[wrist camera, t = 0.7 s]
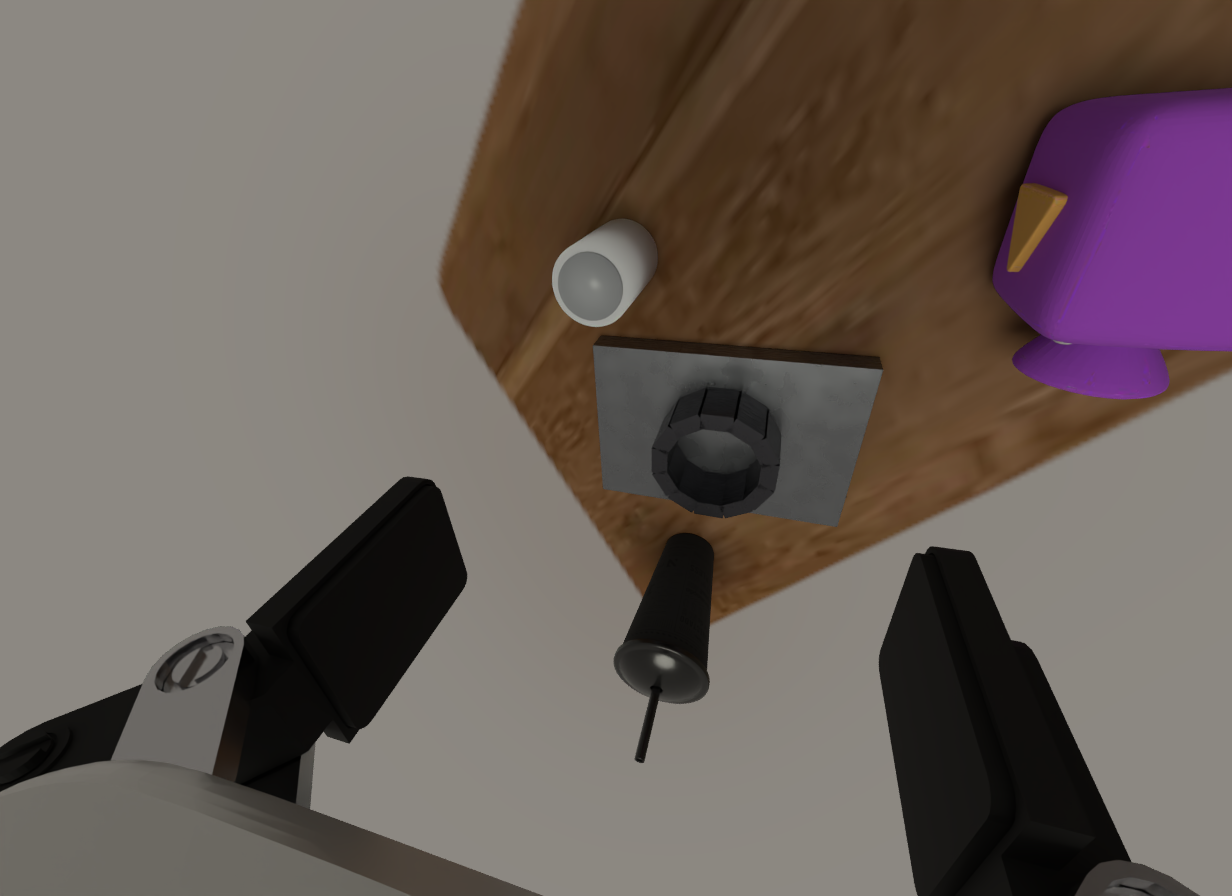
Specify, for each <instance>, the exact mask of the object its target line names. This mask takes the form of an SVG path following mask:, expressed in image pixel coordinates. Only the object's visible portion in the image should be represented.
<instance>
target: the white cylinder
mask: <svg viewBox="0 0 1232 896" xmlns="http://www.w3.org/2000/svg"><path fill="white" fill-rule="evenodd" d="M657 263H658V252H657V247H656V244H655V242H654V239H653V238H652V236H651V234H650V233H649V232H648V231H647V230H646V229H645V228H644V227H643V226H642V225H641V224H639V223H637V222H635V221H633V220H629V219H615V220H611V221H609V222H607V223H605V224H604V225H602V226H601V227H599V228H598V229H596V230H594V231H593V232H591V233H590V234H588V235H587V236H585V237H584V238H582V239H581V240H579V241H578V242H576V243H575V244H573V245H572V246H570V247H569V248H567V249H566V250H565V251H564V252H563V253H562V254H561V255H560V256H559V258H558V259H557V261H556V263H555V266H554V268H553V273H552V285H553V291H554V294H555V297H556V299H557V301H558V303H559V305H560V306H561V308H562V309H563V310H564V311H565V313H566V314H567V315H568V316H570V317H571V318H572V319H574V320H575V321H577V322H579V323H581V324H583V325H587V326H592V327H600V326H606V325H609V324H611V323H613V322H615V321H616V320H618V319H619V318H620V317H621V316H622V315H623V314H624V312H625V311H626V310H627V309H628V307H629V306H630V305H631V304H632V302H633V301H634V300H635V299H636V297H637V296H638V295H639V294H640V293H641V291H642V290H643V289H644V288H645V286H646V285H647V284H648V283H649V281H650V280H651V279H652V277H653V275H654V273H655V271H656V268H657Z"/></svg>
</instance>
